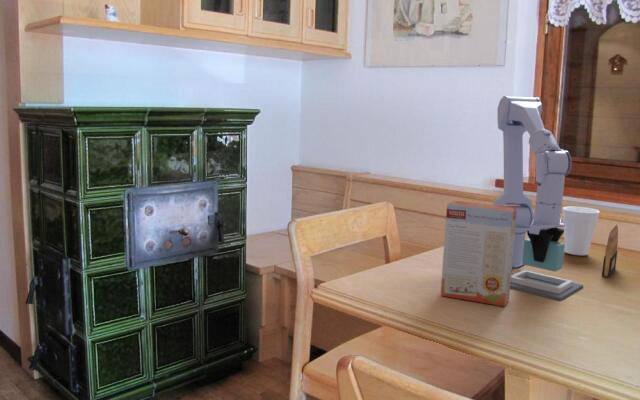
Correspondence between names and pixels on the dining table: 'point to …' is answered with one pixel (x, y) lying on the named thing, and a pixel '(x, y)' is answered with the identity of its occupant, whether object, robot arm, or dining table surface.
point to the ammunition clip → (610, 253)
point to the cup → (579, 228)
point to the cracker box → (478, 252)
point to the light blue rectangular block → (551, 260)
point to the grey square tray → (543, 285)
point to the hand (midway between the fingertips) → (542, 259)
